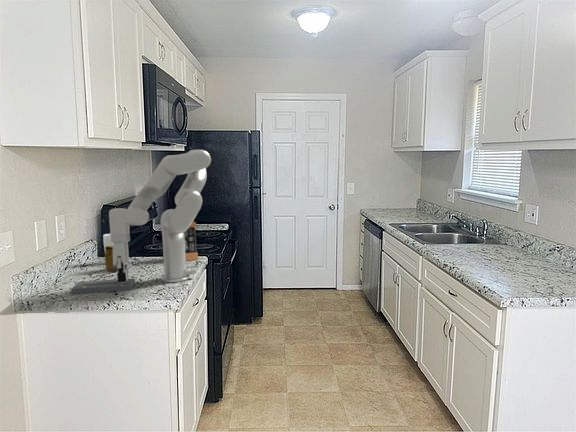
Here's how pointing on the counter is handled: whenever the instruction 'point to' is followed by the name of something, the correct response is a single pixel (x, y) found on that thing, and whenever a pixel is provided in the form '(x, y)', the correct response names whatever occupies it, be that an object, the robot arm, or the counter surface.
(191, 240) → the whiskey bottle
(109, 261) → the condiment
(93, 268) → the counter surface
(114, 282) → the fader panel
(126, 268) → the fader knob
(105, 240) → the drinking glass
